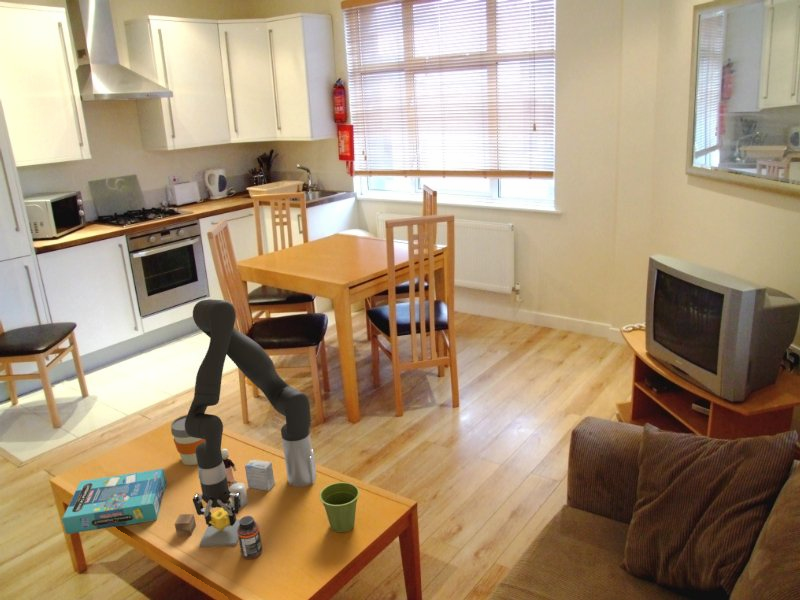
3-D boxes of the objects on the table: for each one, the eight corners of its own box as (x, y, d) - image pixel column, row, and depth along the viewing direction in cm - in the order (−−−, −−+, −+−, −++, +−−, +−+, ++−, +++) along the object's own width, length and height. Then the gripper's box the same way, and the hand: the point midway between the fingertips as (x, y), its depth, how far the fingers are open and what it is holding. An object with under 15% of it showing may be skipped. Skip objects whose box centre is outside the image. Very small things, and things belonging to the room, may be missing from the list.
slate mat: (246, 521, 205) (245, 519, 205) (236, 545, 195) (236, 542, 194) (211, 522, 206) (210, 520, 205) (199, 546, 195) (199, 544, 195)
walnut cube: (196, 526, 205) (193, 513, 203) (191, 535, 200) (188, 523, 199) (182, 526, 205) (179, 514, 204) (177, 535, 201) (174, 523, 199)
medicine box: (275, 484, 223) (272, 461, 220) (268, 491, 219) (265, 468, 216) (254, 480, 226) (251, 458, 223) (248, 488, 222) (244, 465, 219)
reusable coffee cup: (186, 449, 249) (179, 413, 244) (218, 449, 247) (212, 413, 242) (171, 467, 237) (163, 430, 232) (204, 468, 235) (197, 431, 231)
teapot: (218, 537, 195) (215, 523, 193) (206, 530, 198) (203, 516, 197) (240, 523, 201) (237, 508, 199) (228, 516, 204) (225, 502, 202)
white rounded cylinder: (249, 498, 216) (246, 482, 215) (245, 507, 212) (242, 491, 210) (234, 498, 217) (231, 482, 215) (230, 508, 212) (227, 492, 210)
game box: (167, 483, 228) (84, 496, 224) (163, 467, 225) (80, 480, 222) (157, 520, 208) (66, 535, 205) (153, 503, 206) (61, 518, 203)
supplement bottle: (243, 547, 194) (237, 514, 190) (263, 544, 194) (258, 512, 190) (240, 561, 188) (234, 527, 184) (261, 558, 188) (255, 525, 185)
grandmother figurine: (241, 478, 227) (236, 446, 223) (238, 485, 224) (232, 452, 220) (220, 479, 228) (214, 446, 224) (216, 485, 225) (210, 452, 221)
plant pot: (348, 542, 192) (345, 509, 189) (315, 531, 198) (311, 499, 194) (370, 519, 202) (367, 487, 198) (337, 509, 208) (334, 478, 204)
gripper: (240, 468, 197) (248, 515, 202) (193, 469, 198) (202, 517, 203) (233, 482, 190) (242, 531, 195) (184, 484, 191) (193, 533, 196)
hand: (221, 524), depth 199 cm, fingers closed on teapot, 6 cm apart
